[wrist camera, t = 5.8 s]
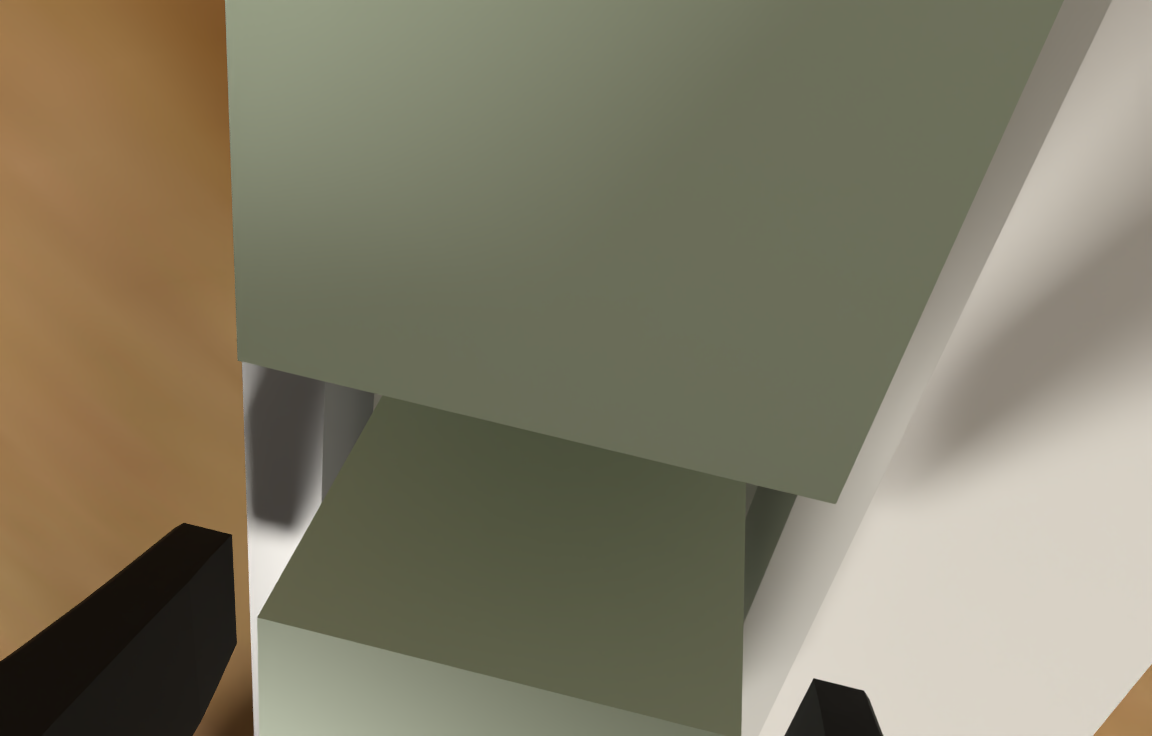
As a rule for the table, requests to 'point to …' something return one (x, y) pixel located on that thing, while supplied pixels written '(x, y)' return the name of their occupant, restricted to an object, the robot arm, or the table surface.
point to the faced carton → (615, 208)
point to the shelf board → (996, 446)
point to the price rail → (290, 469)
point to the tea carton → (507, 591)
